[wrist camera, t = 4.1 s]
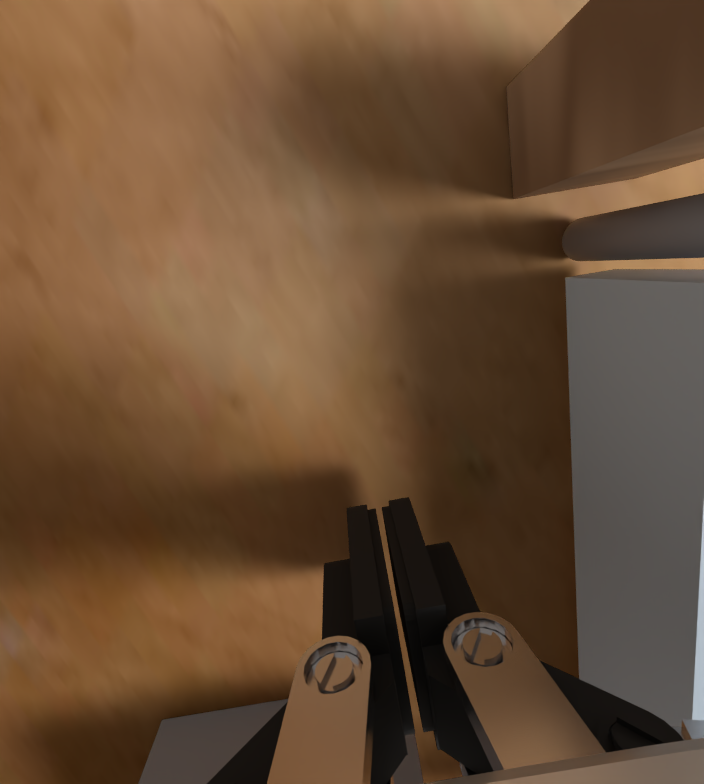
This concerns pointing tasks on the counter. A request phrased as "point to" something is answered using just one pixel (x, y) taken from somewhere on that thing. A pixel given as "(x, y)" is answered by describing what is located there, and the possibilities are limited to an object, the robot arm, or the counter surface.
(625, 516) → the door
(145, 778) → the block
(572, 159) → the brown wooden block
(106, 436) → the counter surface
